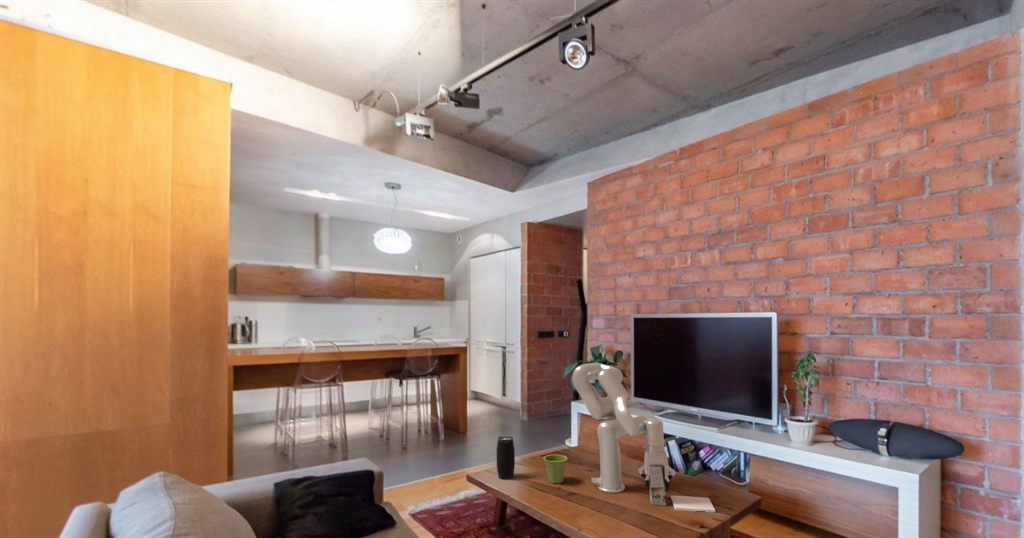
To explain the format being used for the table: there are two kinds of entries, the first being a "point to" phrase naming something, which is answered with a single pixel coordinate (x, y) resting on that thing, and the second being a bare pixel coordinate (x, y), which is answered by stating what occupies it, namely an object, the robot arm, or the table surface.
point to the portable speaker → (505, 457)
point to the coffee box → (657, 485)
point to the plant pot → (555, 467)
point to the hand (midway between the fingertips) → (657, 489)
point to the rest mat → (692, 504)
